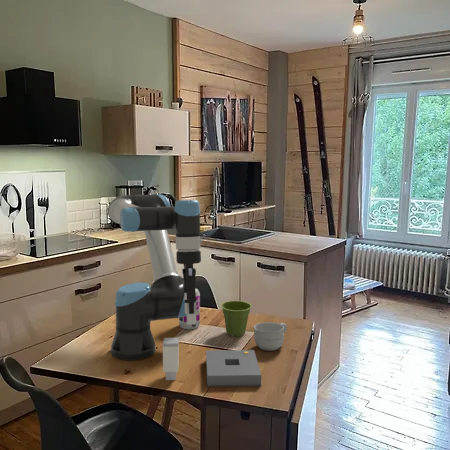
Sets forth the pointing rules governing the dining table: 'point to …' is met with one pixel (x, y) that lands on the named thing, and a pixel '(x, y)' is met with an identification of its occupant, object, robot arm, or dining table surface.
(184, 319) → the supplement can
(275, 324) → the teacup
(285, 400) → the dining table surface
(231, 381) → the plate
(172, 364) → the plug
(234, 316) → the plant pot
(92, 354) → the dining table surface
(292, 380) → the dining table surface
